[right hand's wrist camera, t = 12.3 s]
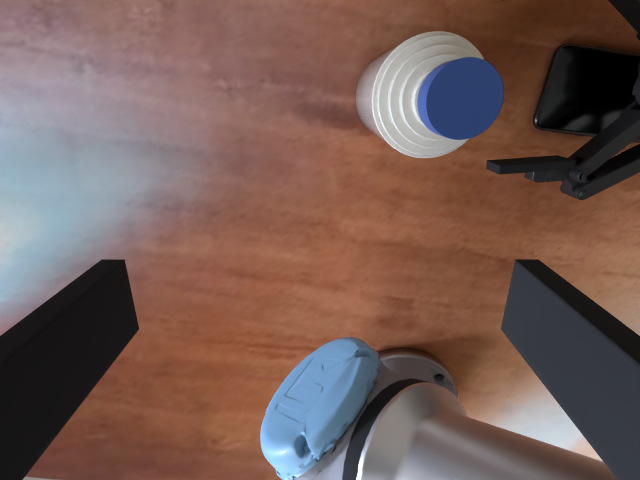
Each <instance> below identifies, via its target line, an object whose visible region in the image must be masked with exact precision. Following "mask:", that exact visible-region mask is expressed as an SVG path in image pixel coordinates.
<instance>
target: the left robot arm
mask: <svg viewBox="0 0 640 480" xmlns="http://www.w3.org/2000/svg"><path fill="white" fill-rule="evenodd" d="M609 1H610V3H611V4H612V5H613V6H614V7H615V8H616V9H617V10H618V11H619V12H620V13H621V15H622V16H623V17H624V18H625V19H626V20H627V21H628V22H629V23H630V24H631V25H632V27H633V28H634V29H635V30H636V31H637V32H638V34H637V38H638V39H639V40H640V0H609ZM638 68H639V76H638V78H637V80H636V82H635V84H634V88H633V92H632V95H635V98H636V100H635V101H634V102H633V103H632V104H630V105H629V106H628V107H627V108H625V109H624V110H623V111H622V112H621V113H620V117H619V118H617V119H616V120H615V121H614V122H612V123H611V124H610V125H609V126H607V127H606V128H605V129H604V130H602V131H601V132H600V133H599V134H597V135H596V136H595V137H594V138H592V139H591V140H590V141H589V142H587V143H586V144H585V145H584V146H582V147H581V148H580V149H579V150H577V151H576V152H575V153H574V154H572V155H571V156H570V157H569V158H565V157H561V156H557V155H556V156H542V157H528V158H514V159H500V160H487V166H486V169H489V170H491V171H493V172H495V173H498V174H510V173H524V172H525V178H527V179H530V180H532V181H535V182H551V181H561V182H562V185H561V187H560V190H561V192H562V193H564V194H567V195H569V196H572V197H574V198H576V199H579V200H584V199H587V198H589V197H591V196H593V195H595V194H597V193H599V192H601V191H603V190H605V189H607V188H609V187H611V186H613V185H615V184H617V183H619V182H621V181H623V180H625V179H627V178H629V177H631V176H633V175H635V174H637V173H639V172H640V144H639V145H636V146H634V147H632V148H630V149H628V150H626V151H624V152H622V153H620V154H618V155H616V156H615V157H613V156H614V155H615V154H617V153H618V152H619V151H620V150H622V149H623V148H624V147H626V146H627V145H628V144H629V143H631V142H632V141H633V140H635V139H636V138H637V137H639V136H640V61H639V65H638ZM611 157H613V158H611ZM610 158H611V159H610ZM260 440H261V447H262V451H263V454H264V456H265V457H266V459H267V460H268V461H269V462H270V463H271V464H272V466H273V467H274V468H275V469H276V473H277V475H278V476H279V477H280V478H281V479H283V480H617V478H616V477H615V476H614V474H613V473H612V472H611V471H610V469H609V468H608V467H607V465H606V464H605V463H604V462H602V461H599V460H596V459H593V458H590V457H587V456H584V455H581V454H578V453H575V452H572V451H569V450H566V449H563V448H560V447H557V446H554V445H551V444H548V443H545V442H542V441H539V440H536V439H532V438H529V437H526V436H523V435H520V434H517V433H514V432H511V431H508V430H505V429H502V428H499V427H496V426H493V425H490V424H487V423H484V422H481V421H478V420H475V419H472V418H469V417H468V416H467V414H466V411H465V409H464V408H463V406H462V404H461V402H460V401H459V400H458V394H457V389H456V386H455V383H454V381H453V379H452V377H451V375H450V373H449V371H448V369H447V368H446V367H445V365H444V364H443V363H442V362H440V361H439V360H438V359H437V358H435V357H434V356H432V355H430V354H428V353H425V352H422V351H419V350H414V349H405V348H400V349H390V350H385V351H381V352H378V353H377V351H375V349H372V348H371V347H370V346H369V345H368V344H366V343H365V342H364V341H362V340H360V339H358V338H354V337H346V338H340V339H336V340H333V341H331V342H329V343H327V344H325V345H323V346H321V347H319V348H318V349H317V350H315V351H314V352H313V353H311V354H310V355H308V356H307V357H306V358H305V359H303V360H302V361H301V362H300V363H299V364H298V365H297V366H296V367H295V368H294V369H293V370H292V371H291V373H290V374H289V375H288V376H287V377H286V379H285V380H284V381H283V383H282V384H281V385H280V387H279V388H278V390H277V391H276V393H275V394H274V396H273V398H272V400H271V402H270V404H269V406H268V408H267V410H266V415H265V418H264V420H263V423H262V427H261V435H260Z"/></svg>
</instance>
